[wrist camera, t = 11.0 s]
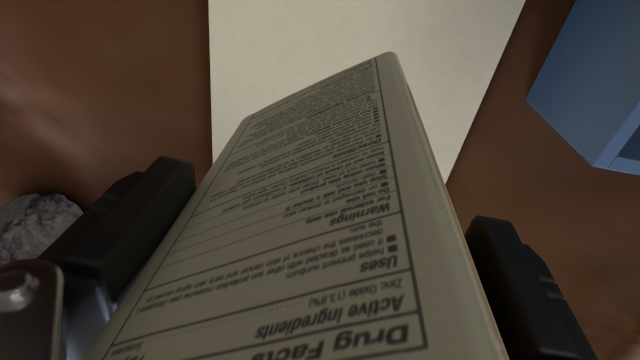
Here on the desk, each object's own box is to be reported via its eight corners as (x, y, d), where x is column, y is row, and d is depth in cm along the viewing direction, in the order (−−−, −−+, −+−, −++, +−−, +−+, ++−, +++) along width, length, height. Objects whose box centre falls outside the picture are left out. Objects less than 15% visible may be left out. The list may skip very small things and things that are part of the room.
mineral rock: (152, 308, 34) (85, 424, 26) (42, 283, 34) (-62, 394, 26) (142, 208, 27) (44, 326, 19) (1, 175, 27) (-163, 281, 18)
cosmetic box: (294, 199, 16) (161, 672, 6) (240, 114, 14) (-125, 619, 3) (440, 149, 13) (659, 773, 3) (403, 41, 11) (665, 787, 1)
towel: (216, 202, 26) (213, 207, 25) (206, -247, 13) (200, -254, 13) (417, 240, 26) (418, 245, 25) (596, -175, 13) (604, -179, 13)
